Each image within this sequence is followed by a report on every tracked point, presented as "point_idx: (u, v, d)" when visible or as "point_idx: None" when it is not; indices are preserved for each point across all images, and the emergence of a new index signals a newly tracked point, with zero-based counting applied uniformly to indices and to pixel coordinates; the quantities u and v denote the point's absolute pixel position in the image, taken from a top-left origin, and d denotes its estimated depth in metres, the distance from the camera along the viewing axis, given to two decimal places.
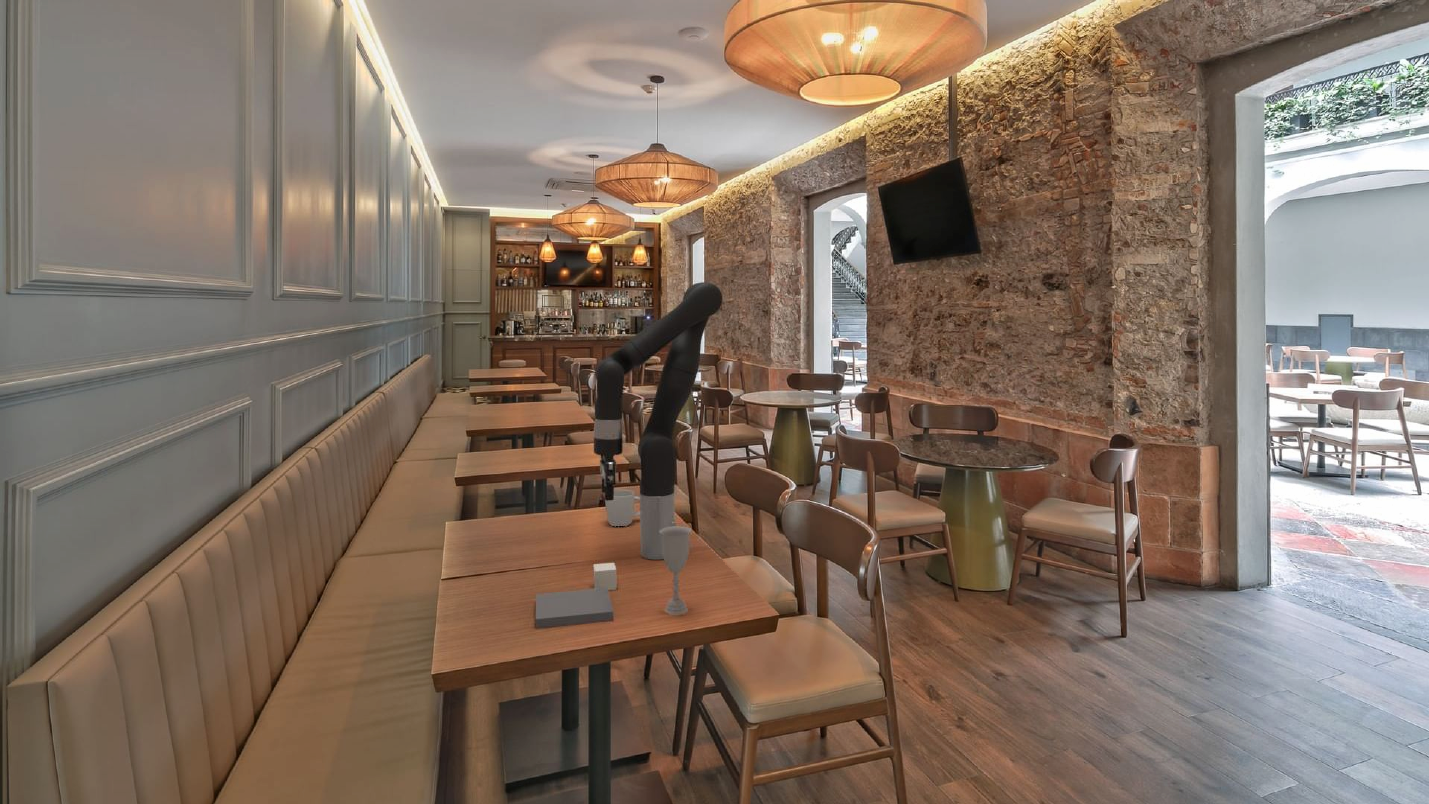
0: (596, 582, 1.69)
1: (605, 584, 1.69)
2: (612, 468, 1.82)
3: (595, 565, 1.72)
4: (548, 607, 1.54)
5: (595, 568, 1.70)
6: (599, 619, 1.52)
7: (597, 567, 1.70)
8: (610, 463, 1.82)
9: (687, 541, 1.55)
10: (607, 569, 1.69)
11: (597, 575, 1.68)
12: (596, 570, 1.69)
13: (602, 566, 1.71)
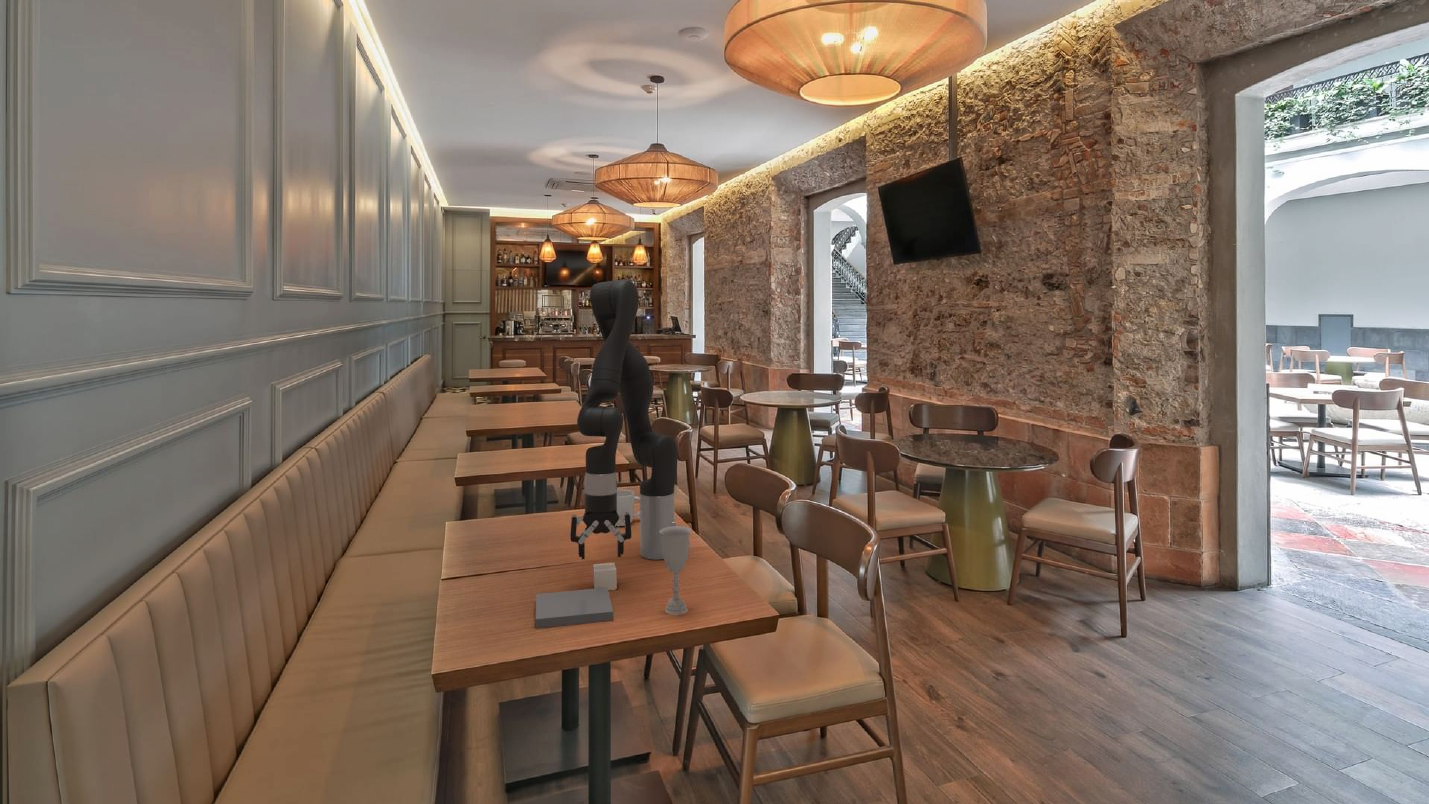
0: (596, 582, 1.69)
1: (605, 584, 1.69)
2: None
3: (595, 565, 1.72)
4: (548, 607, 1.54)
5: (595, 568, 1.70)
6: (599, 619, 1.52)
7: (597, 568, 1.70)
8: None
9: (687, 541, 1.55)
10: (607, 569, 1.69)
11: (597, 575, 1.68)
12: (596, 570, 1.69)
13: (602, 566, 1.71)
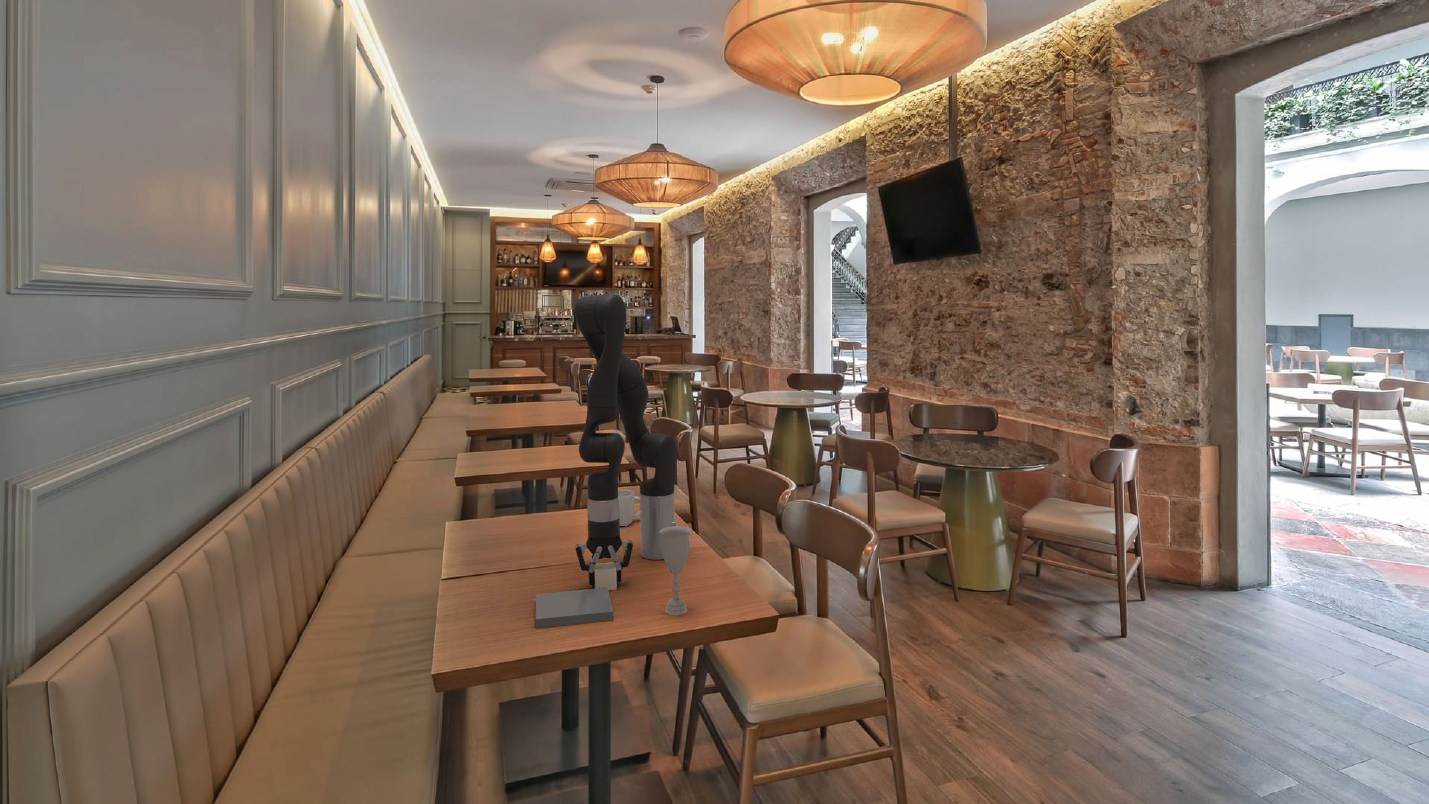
0: (596, 582, 1.68)
1: (605, 584, 1.69)
2: None
3: None
4: (548, 607, 1.54)
5: (595, 568, 1.70)
6: (599, 619, 1.52)
7: (597, 567, 1.70)
8: None
9: (687, 541, 1.55)
10: (607, 569, 1.69)
11: (597, 575, 1.68)
12: (596, 570, 1.69)
13: (602, 566, 1.71)
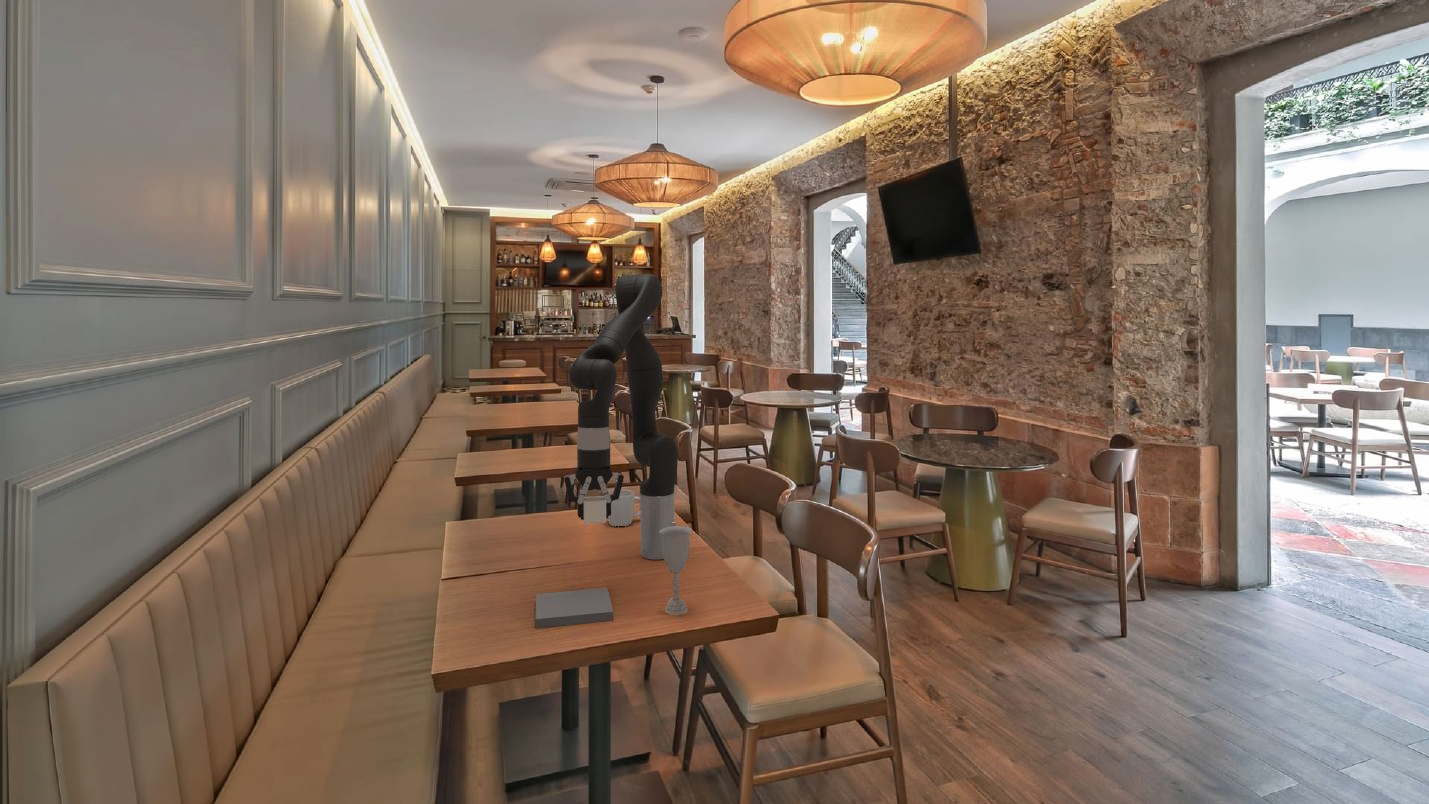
0: (585, 513, 1.63)
1: (594, 516, 1.63)
2: None
3: (585, 497, 1.67)
4: (548, 607, 1.54)
5: (584, 499, 1.64)
6: (599, 619, 1.52)
7: (586, 499, 1.65)
8: None
9: (687, 541, 1.55)
10: (597, 500, 1.64)
11: (586, 506, 1.63)
12: (585, 501, 1.63)
13: (592, 498, 1.66)
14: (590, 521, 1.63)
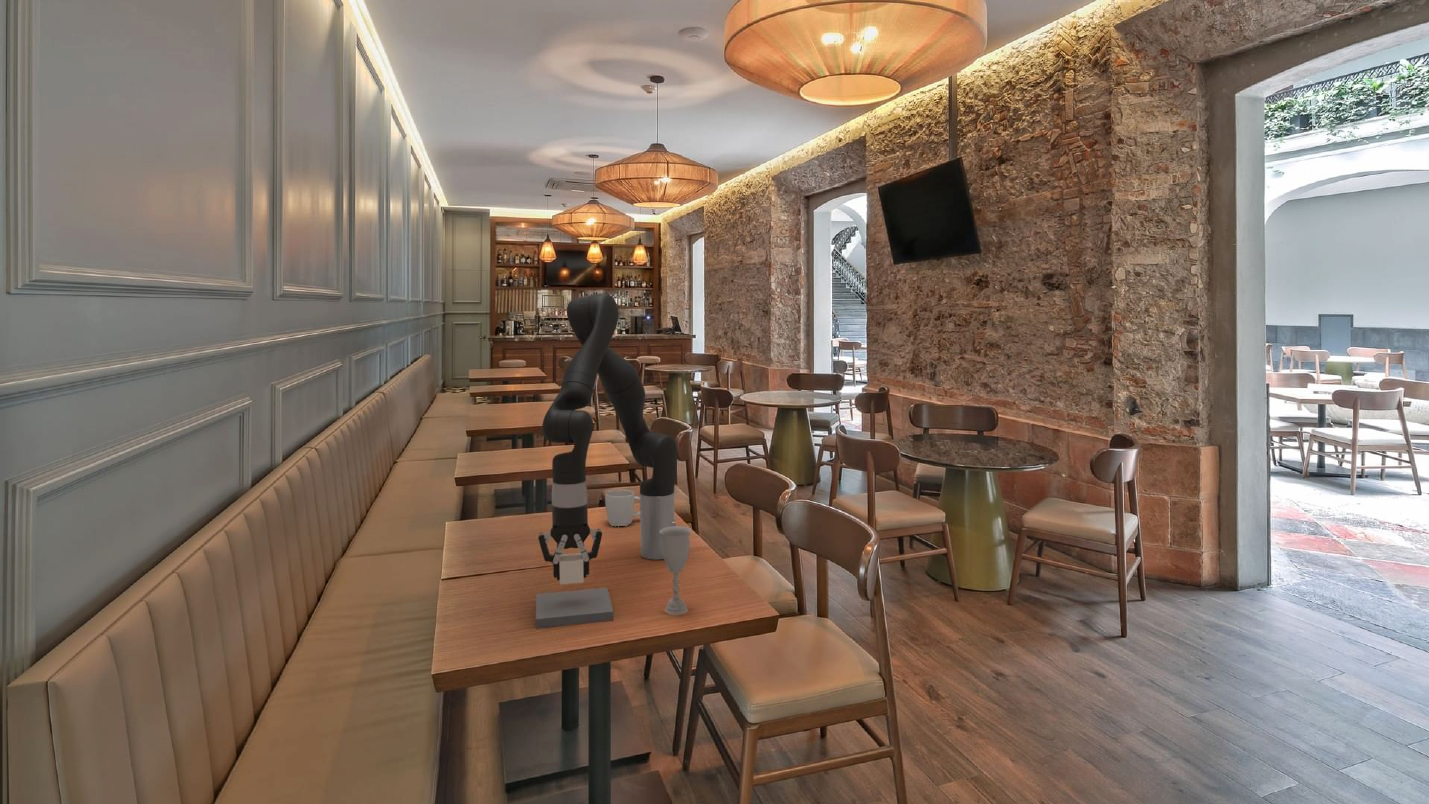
0: (561, 574, 1.53)
1: (570, 576, 1.54)
2: None
3: (561, 555, 1.57)
4: (548, 607, 1.54)
5: (560, 558, 1.55)
6: (599, 619, 1.52)
7: (562, 558, 1.55)
8: (601, 531, 1.57)
9: (687, 541, 1.55)
10: (573, 559, 1.54)
11: (562, 566, 1.53)
12: (561, 561, 1.53)
13: (568, 557, 1.56)
14: (566, 582, 1.54)
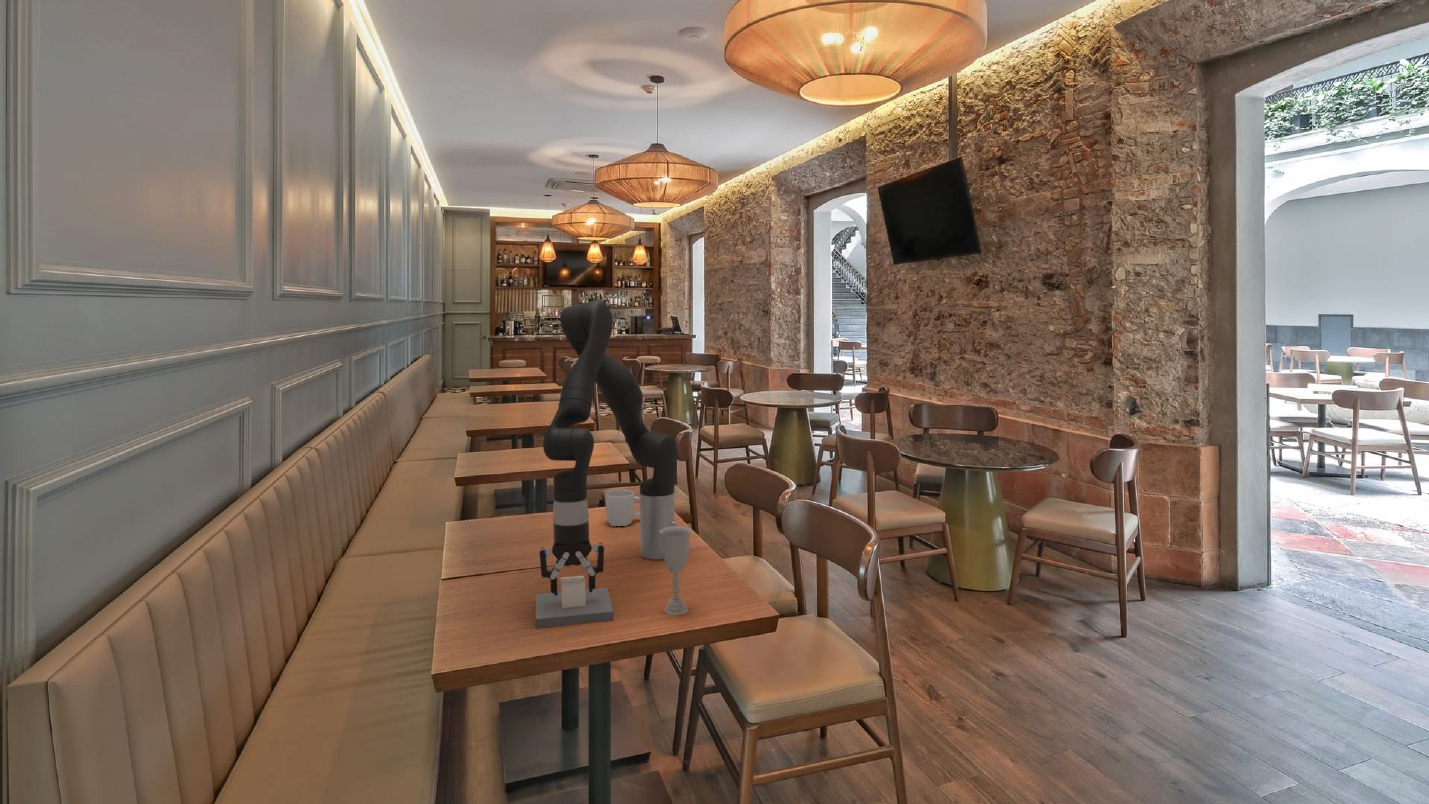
0: (563, 597, 1.54)
1: (572, 600, 1.54)
2: None
3: (563, 578, 1.58)
4: (548, 607, 1.54)
5: (562, 582, 1.55)
6: (599, 619, 1.52)
7: (564, 581, 1.56)
8: None
9: (687, 541, 1.55)
10: (575, 583, 1.55)
11: (564, 590, 1.54)
12: (563, 584, 1.54)
13: (570, 580, 1.57)
14: (568, 605, 1.54)
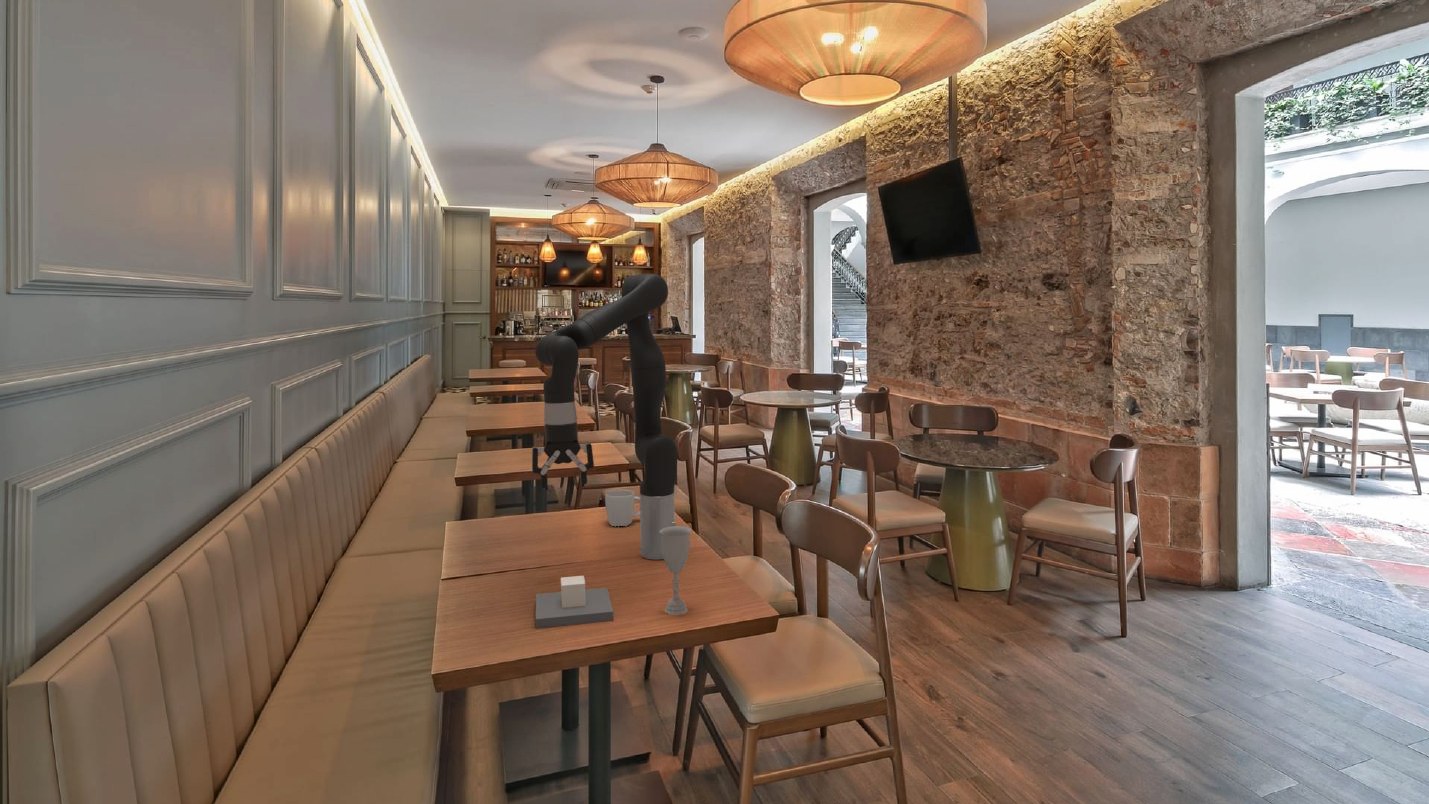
0: (563, 597, 1.54)
1: (572, 600, 1.54)
2: None
3: (563, 578, 1.58)
4: (548, 607, 1.54)
5: (562, 582, 1.55)
6: (599, 619, 1.52)
7: (564, 581, 1.56)
8: (590, 443, 1.71)
9: (687, 541, 1.55)
10: (575, 583, 1.55)
11: (564, 590, 1.54)
12: (563, 584, 1.54)
13: (570, 580, 1.57)
14: (568, 605, 1.54)
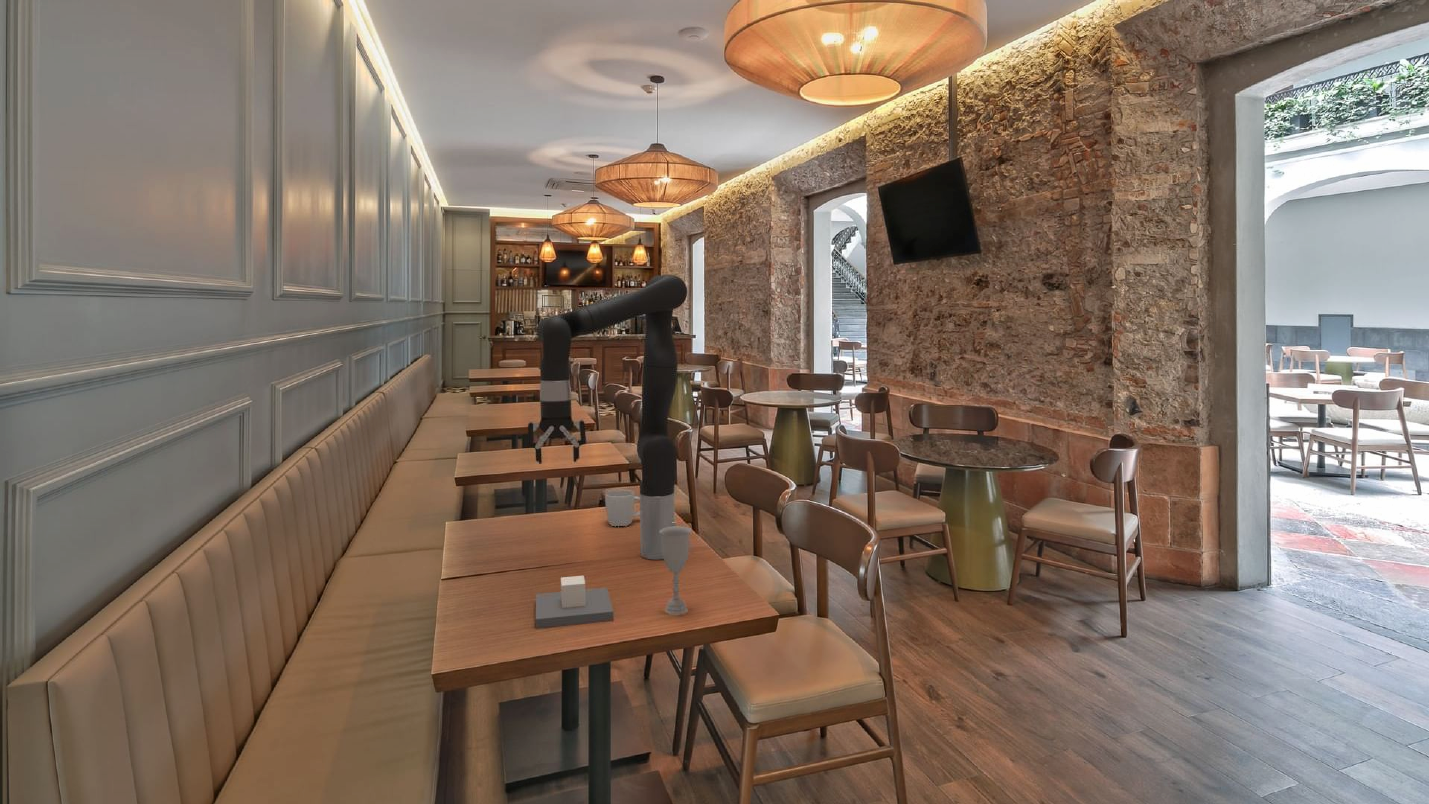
0: (563, 597, 1.54)
1: (572, 600, 1.54)
2: None
3: (563, 578, 1.58)
4: (548, 607, 1.54)
5: (562, 582, 1.55)
6: (599, 619, 1.52)
7: (564, 581, 1.56)
8: (583, 421, 1.80)
9: (687, 541, 1.55)
10: (575, 583, 1.55)
11: (564, 590, 1.54)
12: (563, 584, 1.54)
13: (570, 580, 1.57)
14: (568, 605, 1.54)
